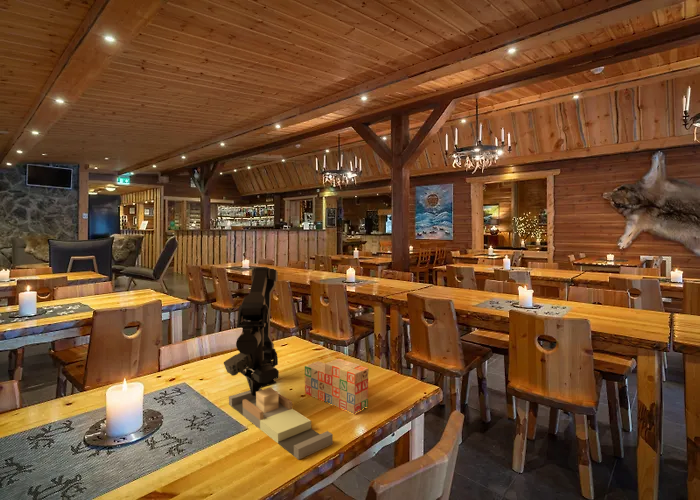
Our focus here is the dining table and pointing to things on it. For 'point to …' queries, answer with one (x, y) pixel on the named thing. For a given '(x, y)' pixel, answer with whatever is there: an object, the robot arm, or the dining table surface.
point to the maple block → (267, 400)
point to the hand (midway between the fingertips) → (254, 395)
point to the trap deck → (282, 425)
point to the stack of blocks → (338, 384)
